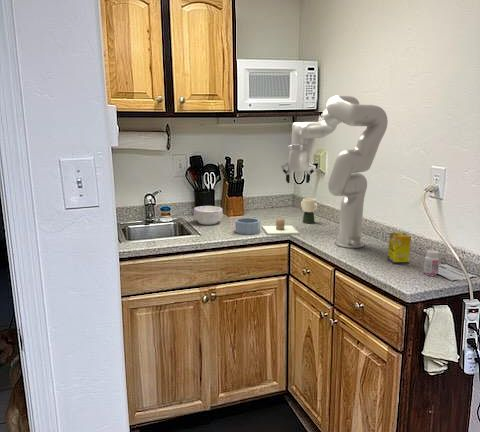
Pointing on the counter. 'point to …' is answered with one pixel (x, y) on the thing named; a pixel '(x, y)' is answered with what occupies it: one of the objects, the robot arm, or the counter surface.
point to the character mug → (309, 209)
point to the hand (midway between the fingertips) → (297, 182)
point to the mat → (288, 234)
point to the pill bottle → (431, 262)
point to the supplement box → (399, 248)
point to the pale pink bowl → (208, 214)
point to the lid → (280, 228)
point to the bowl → (247, 226)
